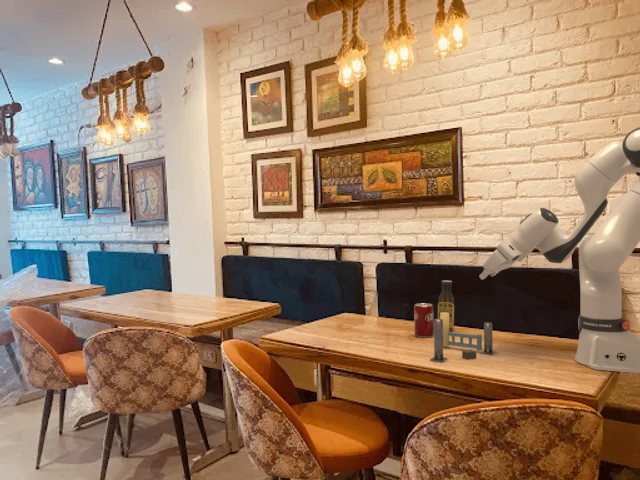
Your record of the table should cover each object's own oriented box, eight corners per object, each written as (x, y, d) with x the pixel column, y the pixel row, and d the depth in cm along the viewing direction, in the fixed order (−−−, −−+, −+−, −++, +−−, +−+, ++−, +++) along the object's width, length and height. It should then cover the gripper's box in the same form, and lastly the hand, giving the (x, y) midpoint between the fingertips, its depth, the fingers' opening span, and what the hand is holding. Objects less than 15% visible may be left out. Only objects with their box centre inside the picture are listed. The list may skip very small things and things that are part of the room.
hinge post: (496, 352, 171) (496, 322, 170) (492, 355, 168) (492, 325, 167) (484, 351, 173) (483, 321, 173) (480, 353, 170) (480, 323, 169)
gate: (482, 349, 173) (482, 315, 172) (479, 351, 170) (479, 317, 170) (442, 343, 181) (442, 312, 180) (439, 345, 179) (438, 313, 178)
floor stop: (471, 356, 167) (471, 349, 167) (476, 358, 165) (476, 351, 165) (462, 357, 166) (462, 350, 166) (466, 359, 164) (466, 352, 164)
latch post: (447, 359, 164) (446, 319, 164) (442, 362, 161) (441, 321, 160) (435, 357, 167) (434, 317, 166) (430, 360, 163) (429, 320, 163)
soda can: (412, 337, 195) (411, 305, 194) (417, 333, 201) (417, 302, 201) (430, 338, 191) (430, 306, 191) (436, 334, 198) (435, 303, 197)
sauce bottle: (436, 332, 202) (435, 281, 201) (438, 328, 208) (438, 279, 207) (453, 333, 200) (453, 282, 199) (455, 329, 206) (454, 280, 204)
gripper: (517, 240, 181) (490, 267, 188) (497, 243, 165) (468, 272, 172) (530, 253, 179) (502, 279, 185) (512, 258, 163) (482, 286, 169)
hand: (486, 276), depth 178 cm, fingers open, 8 cm apart
